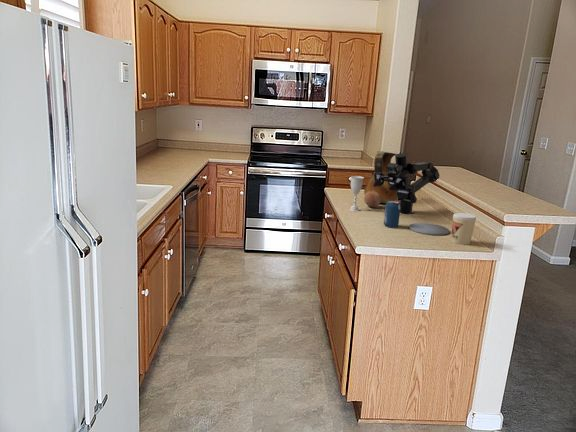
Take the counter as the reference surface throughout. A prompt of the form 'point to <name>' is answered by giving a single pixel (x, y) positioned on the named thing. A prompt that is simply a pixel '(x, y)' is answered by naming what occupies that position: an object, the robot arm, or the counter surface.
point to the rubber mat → (429, 229)
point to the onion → (372, 198)
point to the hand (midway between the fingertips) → (381, 187)
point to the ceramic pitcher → (380, 166)
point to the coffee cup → (462, 228)
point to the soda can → (392, 214)
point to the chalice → (356, 189)
